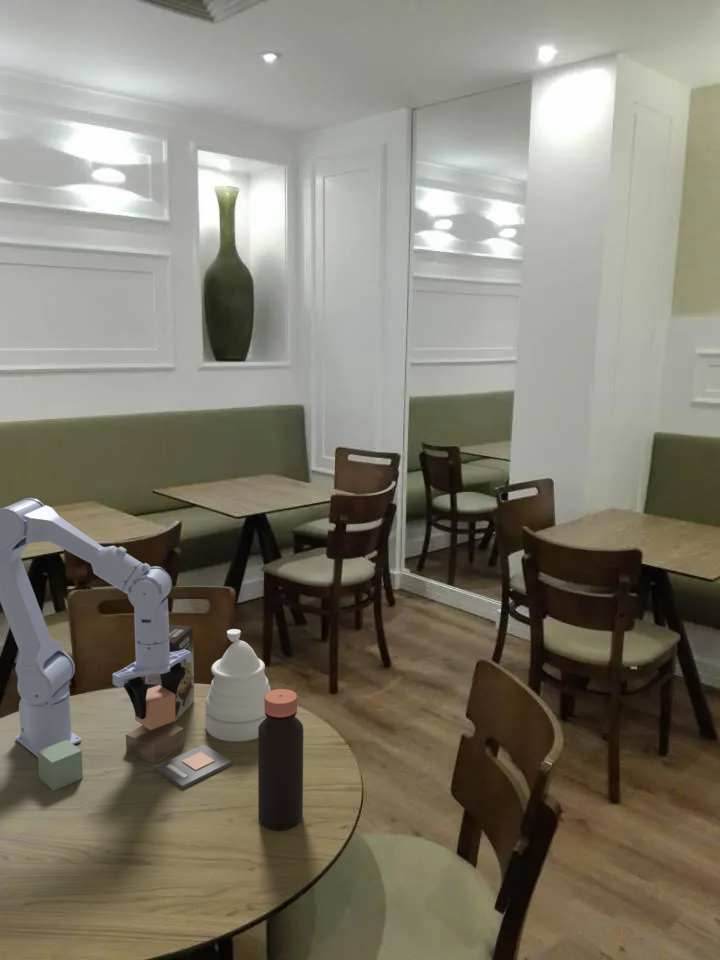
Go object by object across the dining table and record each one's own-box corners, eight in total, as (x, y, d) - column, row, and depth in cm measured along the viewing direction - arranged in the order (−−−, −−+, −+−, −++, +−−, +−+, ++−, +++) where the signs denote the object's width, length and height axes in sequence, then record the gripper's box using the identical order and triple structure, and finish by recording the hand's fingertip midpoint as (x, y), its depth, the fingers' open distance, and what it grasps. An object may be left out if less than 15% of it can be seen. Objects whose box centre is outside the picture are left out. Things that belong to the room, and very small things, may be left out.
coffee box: (176, 723, 142) (174, 643, 140) (144, 719, 144) (142, 639, 141) (195, 701, 151) (194, 625, 148) (166, 697, 152) (164, 622, 150)
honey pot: (193, 721, 143) (191, 632, 140) (249, 701, 152) (248, 617, 148) (229, 749, 134) (228, 654, 131) (287, 726, 142) (287, 636, 139)
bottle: (309, 809, 117) (310, 690, 113) (291, 836, 110) (292, 710, 107) (270, 800, 119) (270, 682, 115) (250, 825, 113) (249, 702, 109)
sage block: (39, 778, 124) (37, 751, 123) (68, 766, 127) (66, 739, 126) (53, 791, 120) (52, 762, 119) (82, 778, 124) (81, 750, 123)
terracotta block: (135, 720, 132) (134, 693, 131) (160, 710, 136) (159, 684, 135) (150, 730, 129) (149, 703, 128) (175, 720, 133) (174, 694, 132)
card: (154, 769, 127) (154, 765, 127) (203, 747, 134) (203, 743, 134) (182, 789, 121) (182, 784, 121) (231, 764, 129) (231, 760, 129)
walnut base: (126, 752, 132) (125, 734, 132) (156, 735, 138) (155, 718, 138) (154, 764, 129) (154, 745, 128) (183, 746, 135) (183, 728, 134)
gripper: (127, 657, 122) (130, 734, 124) (200, 633, 133) (201, 704, 135) (104, 645, 127) (107, 719, 129) (177, 623, 137) (179, 692, 140)
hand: (154, 711), depth 132 cm, fingers closed on terracotta block, 5 cm apart
